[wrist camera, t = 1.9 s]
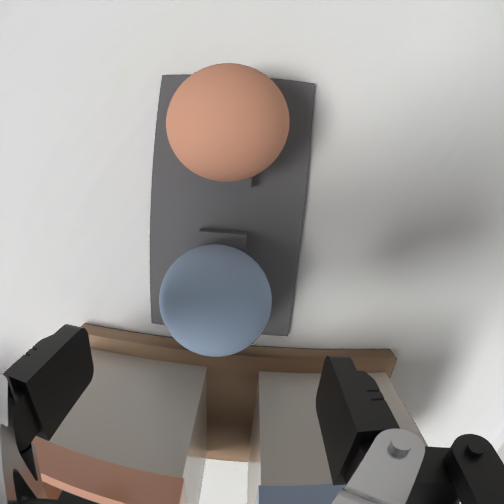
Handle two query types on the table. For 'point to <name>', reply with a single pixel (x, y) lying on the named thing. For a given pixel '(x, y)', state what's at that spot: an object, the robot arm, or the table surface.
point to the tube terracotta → (131, 435)
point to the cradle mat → (234, 206)
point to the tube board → (233, 378)
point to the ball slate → (215, 300)
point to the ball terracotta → (227, 122)
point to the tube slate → (298, 439)
